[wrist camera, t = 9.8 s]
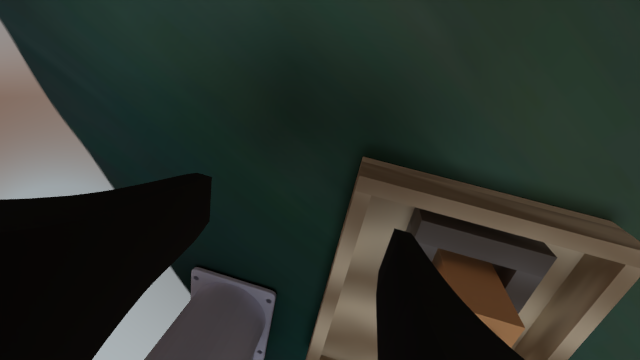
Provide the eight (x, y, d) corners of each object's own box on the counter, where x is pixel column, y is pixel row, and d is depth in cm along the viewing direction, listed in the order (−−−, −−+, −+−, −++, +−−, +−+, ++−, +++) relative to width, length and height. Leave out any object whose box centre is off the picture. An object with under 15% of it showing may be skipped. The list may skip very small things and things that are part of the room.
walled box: (476, 402, 27) (489, 449, 24) (308, 347, 28) (299, 384, 25) (611, 221, 18) (658, 255, 15) (362, 156, 20) (359, 175, 17)
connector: (466, 290, 21) (502, 394, 15) (419, 276, 22) (435, 372, 15) (486, 253, 20) (536, 350, 13) (436, 239, 20) (461, 327, 14)
